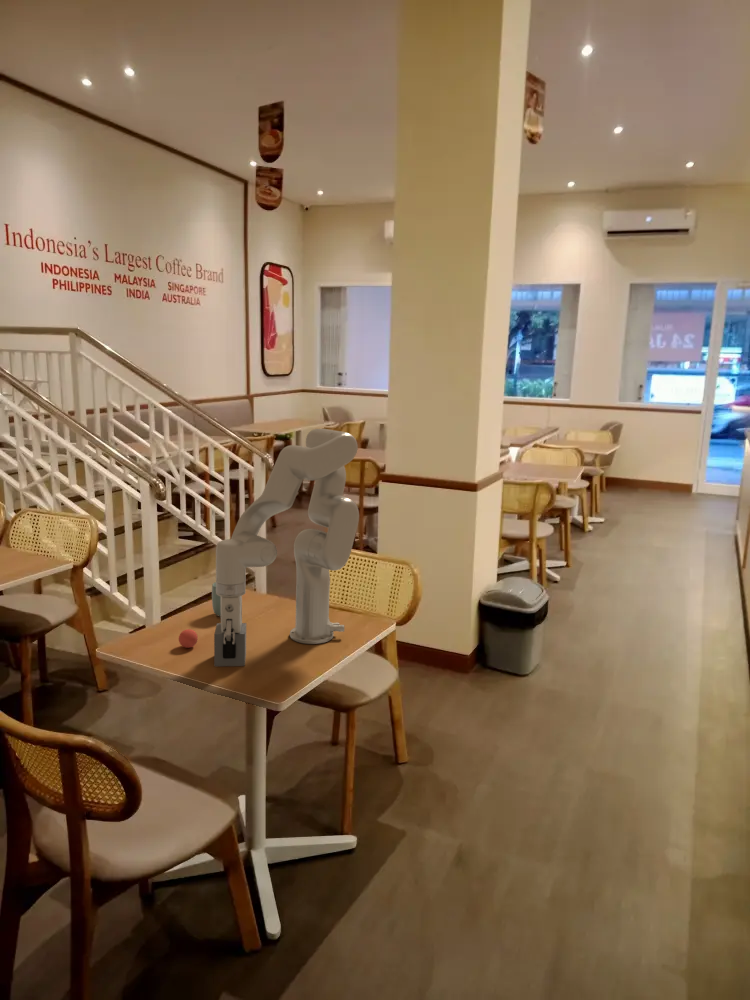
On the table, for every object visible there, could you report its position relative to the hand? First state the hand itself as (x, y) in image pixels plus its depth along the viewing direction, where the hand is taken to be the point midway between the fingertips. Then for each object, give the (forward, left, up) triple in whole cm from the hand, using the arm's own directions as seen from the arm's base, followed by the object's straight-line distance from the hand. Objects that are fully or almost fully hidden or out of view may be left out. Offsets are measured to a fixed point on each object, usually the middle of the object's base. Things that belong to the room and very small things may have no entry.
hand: (230, 651), depth 187 cm
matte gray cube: (0, 0, -3) cm, 3 cm away
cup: (+4, -34, -3) cm, 34 cm away
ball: (+12, -9, 0) cm, 15 cm away
